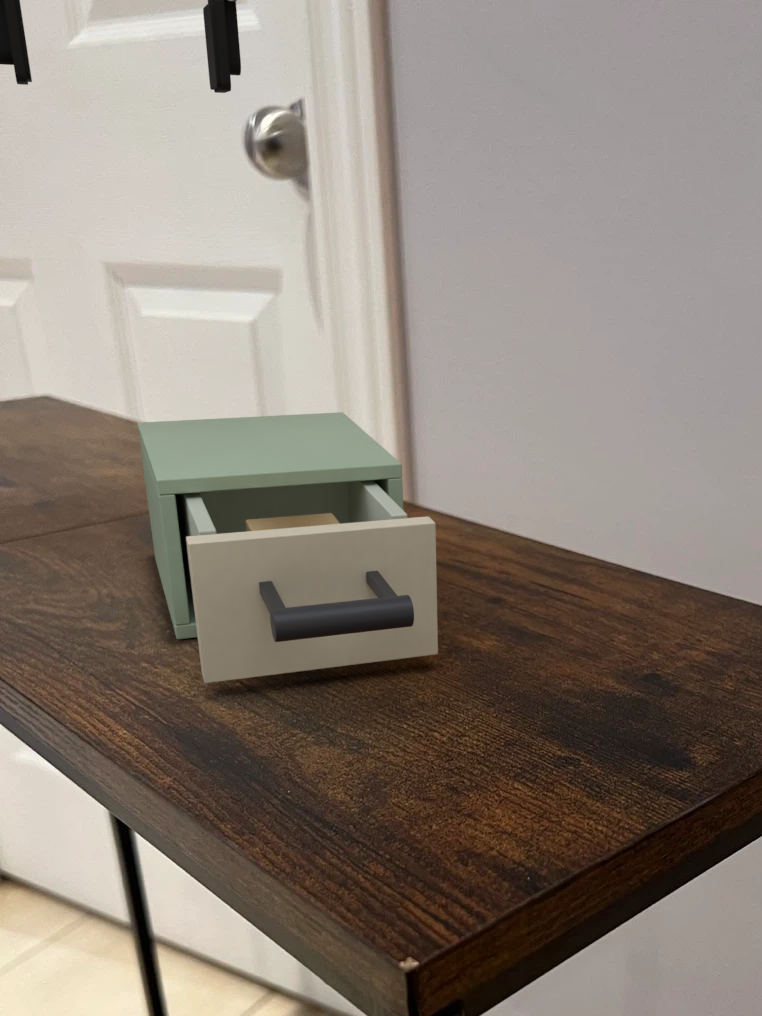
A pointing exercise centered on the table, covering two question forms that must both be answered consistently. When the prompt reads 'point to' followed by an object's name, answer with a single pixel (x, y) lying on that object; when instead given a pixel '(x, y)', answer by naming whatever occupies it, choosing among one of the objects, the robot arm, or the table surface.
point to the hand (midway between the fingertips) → (125, 87)
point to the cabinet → (246, 475)
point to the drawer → (308, 580)
